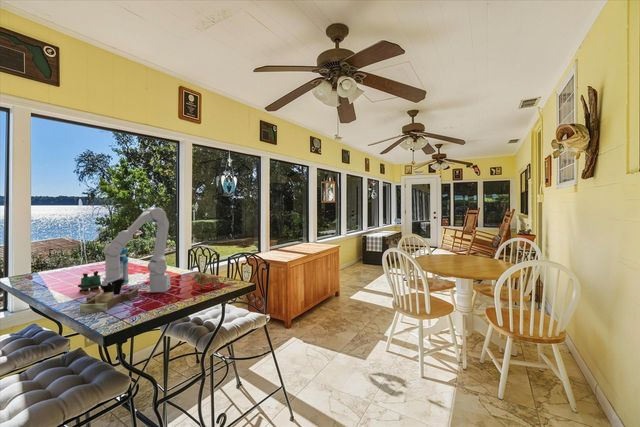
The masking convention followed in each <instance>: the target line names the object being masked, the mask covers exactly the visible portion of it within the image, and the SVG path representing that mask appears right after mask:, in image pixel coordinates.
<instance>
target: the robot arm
mask: <svg viewBox="0 0 640 427" xmlns="http://www.w3.org/2000/svg"><path fill="white" fill-rule="evenodd" d="M149 222H153V223H155V225H157V228H156V229H157V230H156V236H155V242H154V249H153V253H152V254H153V255H152V256H151V258H150V261H149V262H148V264H147V270H148V271H150V272H149V289H148V290H146V293H166V292H167V291H169V290H170V289H171V288H172V287H171V274H170V273H166V271H167V268H168V266H167V260H166V257H165V253H166V248H167V247H166V246H167V242H168V241H167V240H168V234H169V228H170V222H169V219H168V216H167V212H166V211H165V210H164V209H163V208H161V207H154V206H153V207H150V206H149V207H148V208H146V210H144V211H143V212H141V214H140V215H139V216H138V217H137V218H136V219H135V221H134V222H132V224H131V225H130V226H129V227H128V228H127V230H121V231H119V232H118V233H117V235H116V237H115V238H114V239H112V240H110V241H109V242H110V243H107V244H106V245H105V246H104V249H102V251H103V253H104V254H105V255H104V256H105V261H104V263H105V264H104V265H105V266H104V268H105V272H104V273H105V277H102V281H101V285H100V286H99V288H100V289H102V292H113V289H114V294H113V295H120V294H121V291H122V287H123V285H124V284H123V282H124V281H125V279H121V278H123V274H120V253H121V252H122V248H125V247H126V246H127V245H128V243H129V242H131V240H132V239H133V238H134V234H135V233H136V232H137V231H138V230H139V229H140V228H141V227H142V226H143V225H144V224H146V223H149ZM111 283H112V284H111Z"/></svg>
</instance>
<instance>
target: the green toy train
mask: <svg viewBox="0 0 640 427" xmlns="http://www.w3.org/2000/svg"><path fill="white" fill-rule="evenodd" d="M88 275H89V273H84V272H83V273H82V276H83V277H81V279H80V284H78V285H77V288H79V291H78V292H79V293H82V294H83V295H87V294H90V293H91V292H90V291H93V292H96V293H98V292H101V287H100V285H101V284H102V281H101V275H100V274H99V271H98V270H96V271H94V272H93V275H91V276H88Z"/></svg>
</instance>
